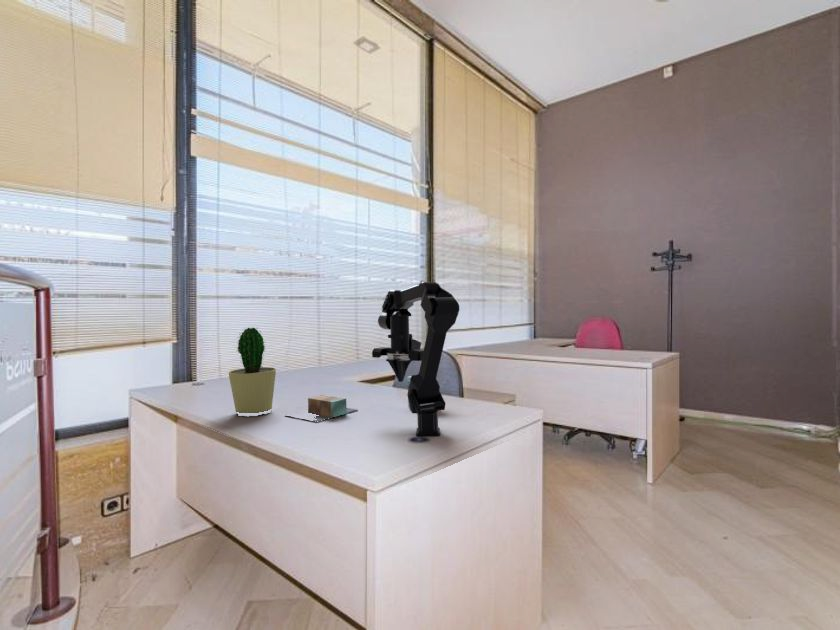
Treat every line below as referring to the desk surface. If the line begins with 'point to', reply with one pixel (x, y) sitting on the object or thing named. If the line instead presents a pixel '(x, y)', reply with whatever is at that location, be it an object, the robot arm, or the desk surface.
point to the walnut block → (327, 406)
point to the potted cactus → (252, 376)
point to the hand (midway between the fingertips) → (400, 381)
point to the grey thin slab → (331, 417)
